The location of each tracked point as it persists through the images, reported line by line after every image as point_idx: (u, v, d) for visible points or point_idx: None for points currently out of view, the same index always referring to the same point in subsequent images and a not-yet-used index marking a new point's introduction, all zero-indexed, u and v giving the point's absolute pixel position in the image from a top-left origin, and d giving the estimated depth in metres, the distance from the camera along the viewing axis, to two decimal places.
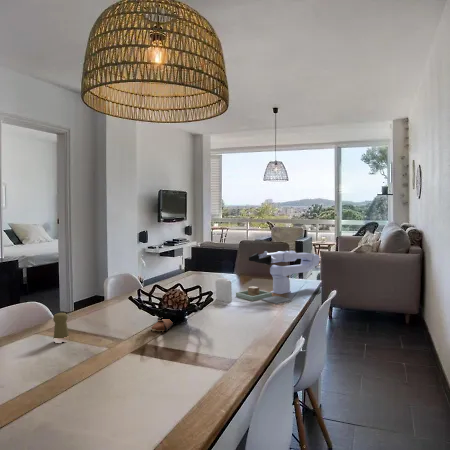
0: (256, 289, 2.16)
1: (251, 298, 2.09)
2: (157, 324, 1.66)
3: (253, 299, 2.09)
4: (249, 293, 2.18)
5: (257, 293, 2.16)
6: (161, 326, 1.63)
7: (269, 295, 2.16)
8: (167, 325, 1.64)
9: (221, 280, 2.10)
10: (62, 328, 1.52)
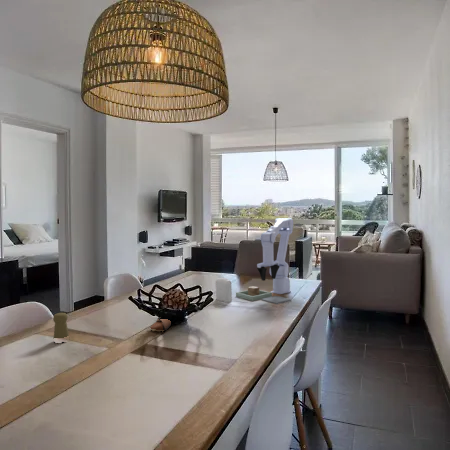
0: (256, 289, 2.16)
1: (251, 298, 2.09)
2: (156, 324, 1.66)
3: (253, 299, 2.09)
4: (249, 293, 2.18)
5: (257, 293, 2.16)
6: (159, 326, 1.63)
7: (269, 295, 2.16)
8: (165, 325, 1.64)
9: (221, 280, 2.10)
10: (62, 328, 1.52)
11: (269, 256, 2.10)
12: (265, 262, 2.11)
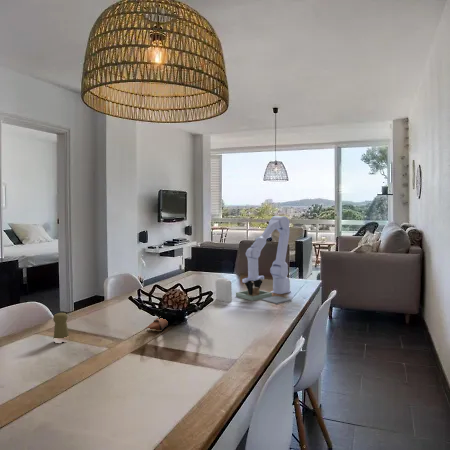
0: (256, 289, 2.16)
1: (251, 298, 2.09)
2: (153, 324, 1.66)
3: (253, 299, 2.09)
4: None
5: (257, 293, 2.16)
6: (156, 326, 1.63)
7: (269, 295, 2.16)
8: (162, 325, 1.64)
9: (221, 280, 2.10)
10: (62, 328, 1.52)
11: (254, 271, 2.14)
12: (250, 277, 2.15)
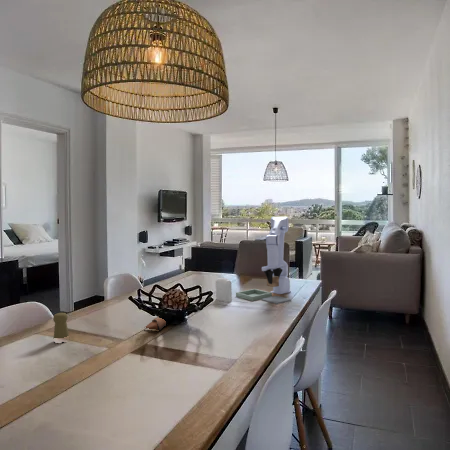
0: (275, 278, 2.07)
1: (251, 298, 2.09)
2: (151, 324, 1.67)
3: (253, 299, 2.09)
4: None
5: (276, 282, 2.07)
6: (154, 326, 1.63)
7: (269, 295, 2.16)
8: (160, 325, 1.64)
9: (221, 280, 2.10)
10: (62, 328, 1.52)
11: (274, 259, 2.05)
12: (270, 265, 2.06)
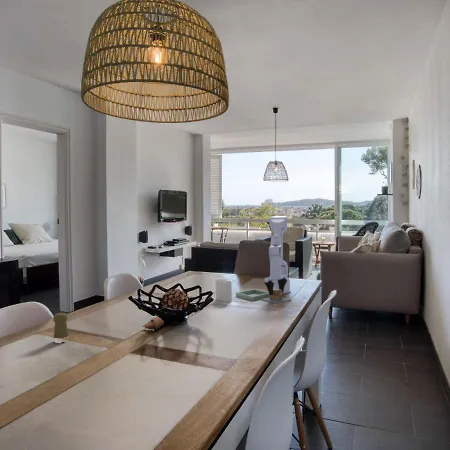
0: (278, 291, 2.06)
1: (251, 298, 2.09)
2: (148, 323, 1.67)
3: (253, 299, 2.09)
4: (271, 295, 2.08)
5: (279, 295, 2.07)
6: (151, 325, 1.64)
7: (269, 295, 2.16)
8: (157, 325, 1.64)
9: (221, 280, 2.10)
10: (62, 328, 1.52)
11: (277, 270, 2.05)
12: (273, 276, 2.05)
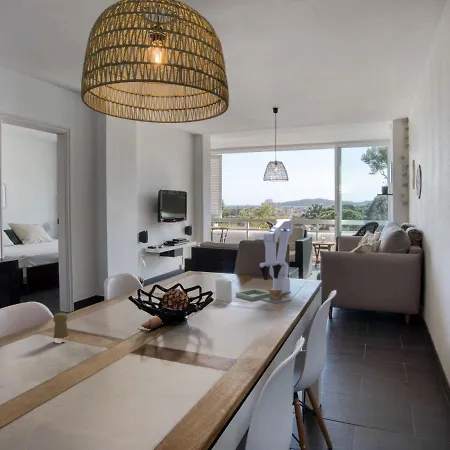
0: (278, 291, 2.06)
1: (251, 298, 2.09)
2: (146, 323, 1.68)
3: (253, 299, 2.09)
4: (271, 295, 2.08)
5: (279, 295, 2.07)
6: (147, 325, 1.65)
7: (269, 295, 2.16)
8: (153, 325, 1.65)
9: (221, 280, 2.10)
10: (62, 328, 1.52)
11: (271, 256, 2.11)
12: (267, 262, 2.12)
